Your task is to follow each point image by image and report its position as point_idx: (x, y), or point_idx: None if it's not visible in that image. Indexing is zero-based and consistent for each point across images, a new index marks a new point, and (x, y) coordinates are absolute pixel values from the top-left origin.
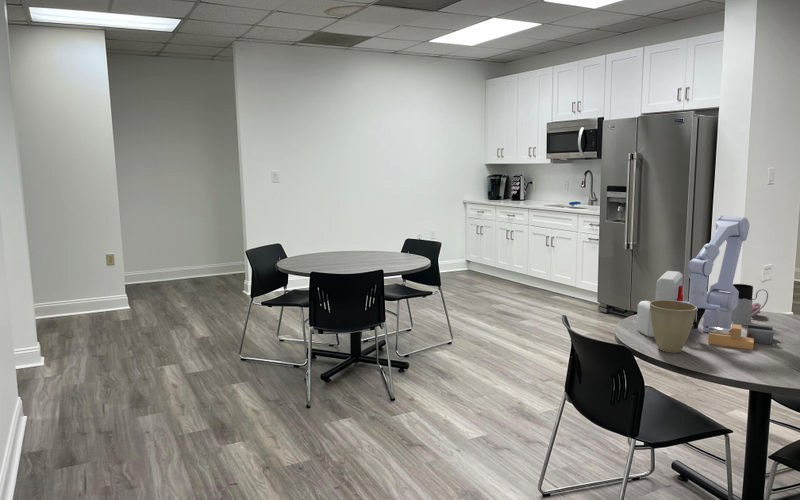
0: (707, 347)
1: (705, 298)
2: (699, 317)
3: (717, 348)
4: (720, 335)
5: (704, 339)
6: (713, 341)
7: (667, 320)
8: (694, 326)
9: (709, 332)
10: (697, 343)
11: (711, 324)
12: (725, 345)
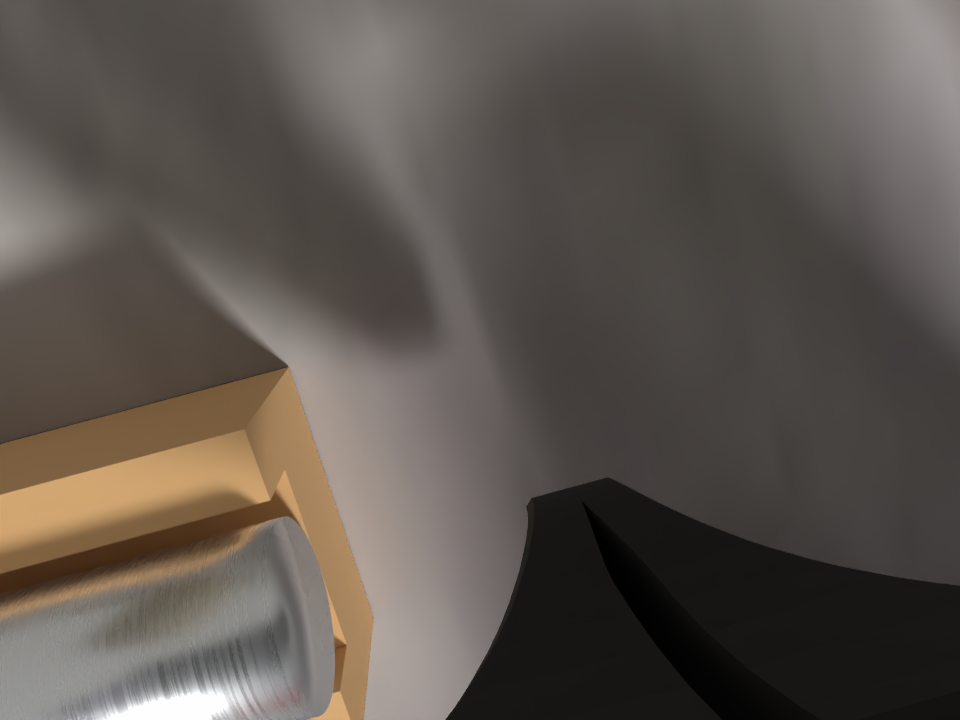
0: (197, 116)
1: None
2: (537, 664)
3: (40, 182)
4: (3, 493)
5: (421, 563)
6: (187, 402)
7: None
8: (602, 491)
9: (264, 523)
10: (425, 251)
11: None
12: (13, 442)
